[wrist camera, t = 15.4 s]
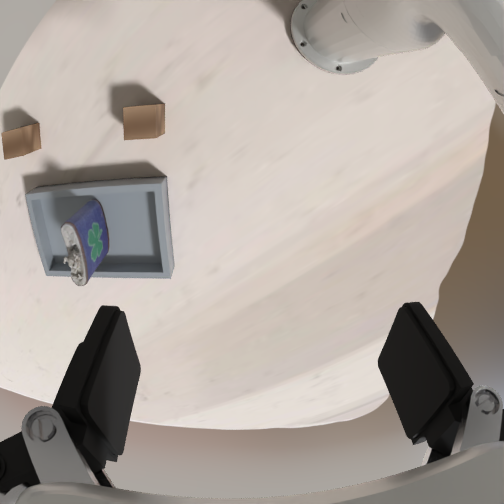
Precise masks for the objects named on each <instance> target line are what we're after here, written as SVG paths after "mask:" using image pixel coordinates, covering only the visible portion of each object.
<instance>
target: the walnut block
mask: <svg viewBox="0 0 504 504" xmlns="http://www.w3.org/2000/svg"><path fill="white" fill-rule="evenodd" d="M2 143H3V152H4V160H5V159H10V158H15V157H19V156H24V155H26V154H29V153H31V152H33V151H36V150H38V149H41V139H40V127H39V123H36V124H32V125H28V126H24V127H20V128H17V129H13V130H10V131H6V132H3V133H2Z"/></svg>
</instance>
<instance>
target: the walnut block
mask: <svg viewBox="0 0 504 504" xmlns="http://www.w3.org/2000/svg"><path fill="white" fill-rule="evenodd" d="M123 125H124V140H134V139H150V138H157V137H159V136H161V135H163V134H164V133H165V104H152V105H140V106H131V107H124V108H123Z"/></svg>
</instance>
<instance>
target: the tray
mask: <svg viewBox="0 0 504 504" xmlns="http://www.w3.org/2000/svg"><path fill="white" fill-rule="evenodd" d="M25 196H26V201H27V206H28V210H29V215H30V219H31V224H32V228H33V232H34V236H35V239H36V243H37V247H38V250H39V254H40V257H41V261H42V264H43V267H44V270H45V273H46V276H67V277H71V267H69V266H68V262H67V261H66V262H65V264H64V263H63V262H64V258H65V257H68V252H67V249H66V245H65V242H64V240H63V237H62V234H61V226H62V225H63V224H64V222H65V221H66V220H68V219H69V218H71V217H72V216H73V215H74V214H75V213H76V212H77V211H78V210H79V209H80V208H82V207H83V206H84V205H85V204H86V203H87V202H88V201H89V200H91V199H94V200H95V199H97V200H99V202H100V203H101V205H102V207H103V210H104V214H105V217H106V222H107V228H108V232H109V239H110V240H109V244H110V247H109V252H108V253H107V254H106V256H105V257H104V258H103V260H102V262H101V263H100V264H99V266H98V267H97V268H96V270H95V271H94V273H93V274H92V276H91V277H104V278H171V276H172V273H173V269H174V257H173V247H172V237H171V226H170V214H169V201H168V186H167V176H165V177H143V178H126V179H112V180H99V181H88V182H77V183H67V184H58V185H50V186H41V187H36V188H35V189H33V190H31V191H30V192H28V193H27V194H25Z"/></svg>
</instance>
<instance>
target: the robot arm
mask: <svg viewBox="0 0 504 504" xmlns="http://www.w3.org/2000/svg"><path fill="white" fill-rule="evenodd" d="M301 7H304V9H302V8H301ZM445 33H446V34H447V35H448V37H449V38H450V39H451V40H452V41H453V43H454V44H455V45H456V46H457V48H458V49H459V50H460V51H461V52H462V53H463V54H464V56H465V57H466V58H467V60H468V61H469V62H470V64H471V65H472V66H473V68H474V69H475V71H476V72H477V74H478V75H479V77H480V78H481V80H482V81H483V83H484V84H485V86H486V87H487V89H488V90H489V92H490V93H491V95H492V96H493V98H494V100H495V101H496V103H497V104H498V106H499V107H500V109H501V111H502V112H503V114H504V0H302V1H301V2H300V3H299V4H298V5H297V7H296V8H295V10H294V12H293V14H292V18H291V34H292V38H293V40H294V43H295V45H296V47H297V48H298V50H299V52H300V53H301V54H302V55H303V56H304V57H305V59H306V60H308V61H309V62H310V63H311V64H313V65H314V66H316V67H318V68H319V69H321V70H324V71H327V72H329V73H334V74H342V75H348V74H354V73H358V72H361V71H363V70H365V69H367V68H369V67H370V66H371V65H372V64H374V62H375V61H376V60H377V59H378V57H381V56H387V55H393V54H399V53H405V52H412V51H418V50H422V49H426V48H428V47H431V46H432V45H434V44H436V43H437V42H438V41H439V40H440V39H441V38H442V37H443V36H444V34H445ZM301 43H303V44H304V46H301V45H300V44H301ZM336 67H338V70H336ZM378 367H379V369H380V372H381V374H382V376H383V379H384V381H385V383H386V386H387V388H388V391H389V393H390V395H391V398H392V400H393V403H394V405H395V408H396V410H397V413H398V415H399V417H400V420H401V423H402V425H403V428H404V430H405V433H406V435H407V437H408V438H409V439H411V440H412V443H413V445H415V444H418V443H421V442H424V441H426V440H427V443H428V448H427V451H426V454H425V456H424V459H423V461H422V464H421V466H420V467H418V468H415V469H412V470H409V471H405V472H402V473H399V474H396V475H392V476H389V477H385V478H381V479H378V480H374V481H370V482H366V483H361V484H357V485H352V486H348V487H343V488H337V489H333V490H327V491H320V492H313V493H306V494H299V495H290V496H278V497H264V498H243V499H242V498H241V499H218V498H215V499H214V498H192V497H178V496H168V495H158V494H150V493H142V492H136V491H129V490H123V489H117V488H115V486H114V484H113V483H112V481H111V480H110V478H109V477H108V475H107V473H106V472H105V470H104V468H105V464H106V460H109V461H114V462H117V457H118V455H122V453H123V451H124V446H125V441H126V436H127V431H128V426H129V421H130V416H131V412H132V407H133V403H134V398H135V394H136V390H137V385H138V381H139V377H140V372H141V367H140V363H139V359H138V356H137V353H136V350H135V347H134V343H133V340H132V337H131V333H130V330H129V326H128V323H127V319H126V315H125V313H124V311H120V309H119V307H117V306H103V305H102V306H101V307H100V308H99V310H98V312H97V314H96V316H95V318H94V321H93V323H92V325H91V327H90V329H89V331H88V333H87V335H86V337H85V340H84V342H81V343H80V344H79V345H78V347H77V349H76V351H75V353H74V355H73V358H72V360H71V362H70V364H69V367H68V369H67V371H66V374H65V376H64V378H63V381H62V383H61V386H60V388H59V390H58V393H57V395H56V398H55V401H54V403H53V406H52V408H50V407H47V406H40V407H36V408H34V409H32V410H31V411H29V412H28V413H27V414H26V416H25V417H24V419H23V422H22V431H21V432H19V433H18V434H16V435H14V436H12V437H10V438H8V439H6V440H4V441H2V442H0V504H504V409H503V404H502V400H501V397H500V396H499V394H498V393H497V392H496V391H495V390H494V389H492V388H490V387H488V386H479V387H477V388H475V390H472V388H471V387H472V385H473V382H472V380H471V378H470V377H469V375H468V373H467V372H466V370H465V369H464V367H463V365H462V364H461V362H460V360H459V359H458V357H457V356H456V354H455V353H454V351H453V349H452V348H451V346H450V345H449V343H448V342H447V340H446V339H445V337H444V336H443V334H442V333H441V331H440V330H439V329H438V327H437V325H436V324H435V323H434V321H433V320H432V318H431V317H430V315H429V314H428V312H427V311H426V310H425V308H424V307H423V305H422V304H421V303H420V302H410V303H404V304H403V306H402V307H401V308H399V310H398V312H397V315H396V317H395V320H394V322H393V325H392V327H391V330H390V332H389V335H388V337H387V340H386V342H385V344H384V347H383V349H382V351H381V354H380V356H379V358H378Z"/></svg>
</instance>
